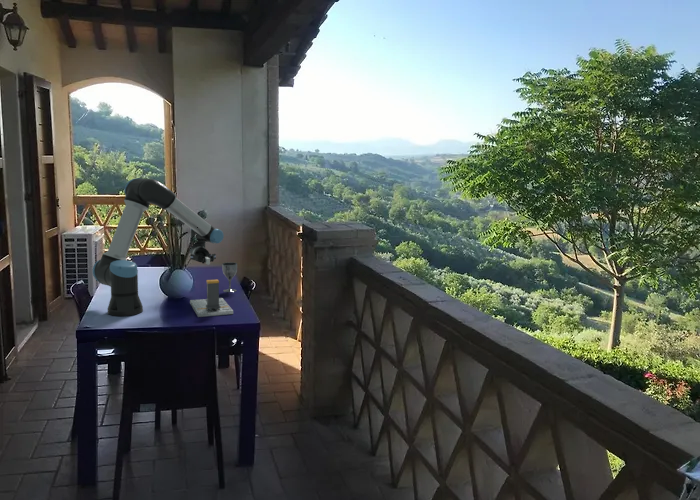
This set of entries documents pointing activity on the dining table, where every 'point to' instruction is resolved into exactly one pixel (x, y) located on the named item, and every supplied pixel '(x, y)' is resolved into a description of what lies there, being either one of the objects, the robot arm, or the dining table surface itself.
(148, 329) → the dining table surface
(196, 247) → the robot arm
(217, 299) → the block
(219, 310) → the plate
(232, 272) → the wine glass
